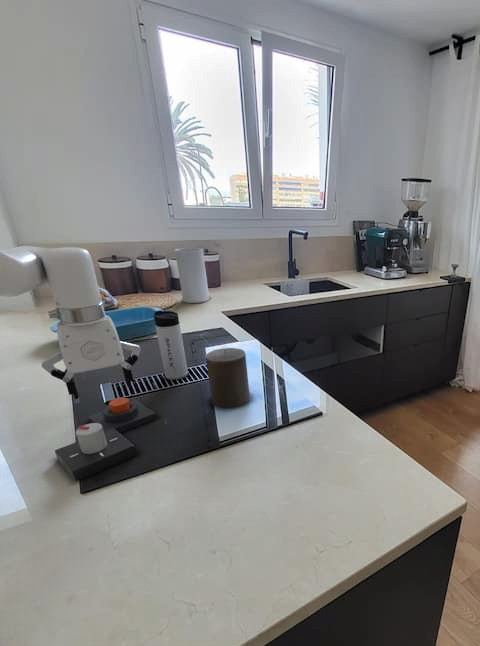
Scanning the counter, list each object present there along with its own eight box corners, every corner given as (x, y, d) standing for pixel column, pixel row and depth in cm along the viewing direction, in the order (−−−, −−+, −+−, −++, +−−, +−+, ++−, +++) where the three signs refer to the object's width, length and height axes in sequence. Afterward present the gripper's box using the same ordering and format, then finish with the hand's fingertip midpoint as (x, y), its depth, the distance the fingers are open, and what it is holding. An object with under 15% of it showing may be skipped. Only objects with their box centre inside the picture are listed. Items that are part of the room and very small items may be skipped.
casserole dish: (62, 355, 130) (55, 335, 127) (50, 338, 145) (44, 319, 142) (175, 332, 153) (172, 315, 151) (155, 319, 168) (152, 303, 165)
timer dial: (112, 442, 81) (106, 422, 79) (95, 455, 77) (89, 434, 75) (93, 440, 82) (87, 420, 80) (76, 452, 78) (69, 432, 76)
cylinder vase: (213, 300, 200) (207, 250, 190) (189, 304, 191) (181, 252, 181) (202, 296, 208) (195, 247, 197) (178, 300, 199) (170, 249, 189)
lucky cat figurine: (126, 305, 186) (120, 283, 176) (110, 321, 178) (102, 299, 168) (95, 295, 186) (87, 271, 175) (78, 311, 178) (68, 287, 167)
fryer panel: (76, 484, 74) (71, 470, 73) (58, 462, 80) (54, 449, 78) (136, 457, 82) (133, 444, 81) (116, 439, 87) (113, 427, 86)
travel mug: (177, 371, 121) (166, 308, 113) (193, 375, 119) (182, 311, 111) (160, 378, 116) (147, 313, 108) (175, 383, 113) (163, 316, 105)
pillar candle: (231, 414, 98) (224, 359, 92) (204, 404, 103) (195, 351, 97) (258, 398, 106) (253, 347, 100) (232, 390, 111) (226, 340, 104)
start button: (115, 415, 90) (113, 407, 89) (107, 409, 92) (105, 402, 91) (133, 409, 93) (131, 401, 92) (126, 403, 95) (124, 396, 94)
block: (107, 440, 87) (103, 425, 85) (90, 424, 93) (85, 409, 91) (157, 420, 95) (154, 406, 93) (138, 407, 101) (135, 393, 99)
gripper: (26, 325, 70) (54, 409, 77) (134, 311, 79) (151, 386, 86) (26, 315, 75) (53, 394, 82) (128, 303, 85) (144, 374, 92)
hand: (103, 390), depth 84 cm, fingers open, 9 cm apart
